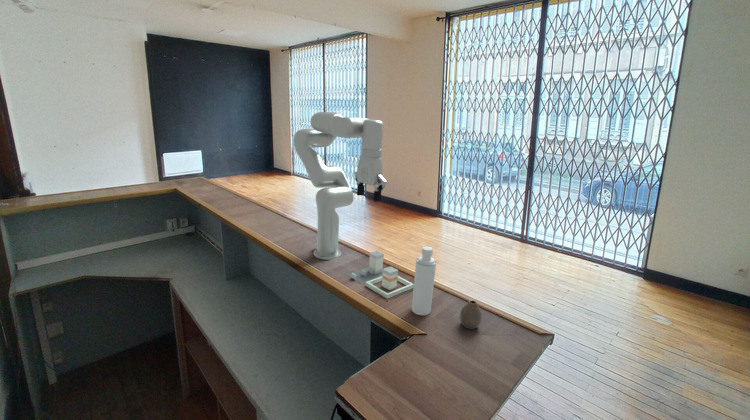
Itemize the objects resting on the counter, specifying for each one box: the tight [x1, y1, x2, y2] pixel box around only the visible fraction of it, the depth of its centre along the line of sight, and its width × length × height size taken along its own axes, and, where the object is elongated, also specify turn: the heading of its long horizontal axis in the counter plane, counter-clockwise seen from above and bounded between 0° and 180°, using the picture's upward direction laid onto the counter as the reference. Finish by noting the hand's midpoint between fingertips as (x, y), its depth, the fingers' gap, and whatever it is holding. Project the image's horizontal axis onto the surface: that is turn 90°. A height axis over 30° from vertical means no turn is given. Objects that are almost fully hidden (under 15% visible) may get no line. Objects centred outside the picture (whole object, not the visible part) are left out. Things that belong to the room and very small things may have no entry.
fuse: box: [368, 250, 385, 274], centre depth 154 cm, size 4×4×8 cm
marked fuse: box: [381, 266, 399, 291], centre depth 143 cm, size 4×4×8 cm
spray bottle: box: [411, 245, 437, 316], centre depth 128 cm, size 7×7×25 cm
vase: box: [459, 299, 483, 330], centre depth 123 cm, size 7×7×9 cm
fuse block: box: [345, 266, 383, 285], centre depth 152 cm, size 10×15×4 cm, turn 132°
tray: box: [365, 275, 414, 301], centre depth 143 cm, size 12×14×3 cm
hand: (368, 197), depth 145 cm, fingers open, 9 cm apart
